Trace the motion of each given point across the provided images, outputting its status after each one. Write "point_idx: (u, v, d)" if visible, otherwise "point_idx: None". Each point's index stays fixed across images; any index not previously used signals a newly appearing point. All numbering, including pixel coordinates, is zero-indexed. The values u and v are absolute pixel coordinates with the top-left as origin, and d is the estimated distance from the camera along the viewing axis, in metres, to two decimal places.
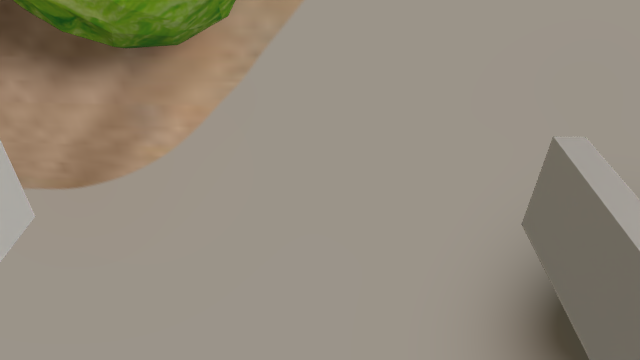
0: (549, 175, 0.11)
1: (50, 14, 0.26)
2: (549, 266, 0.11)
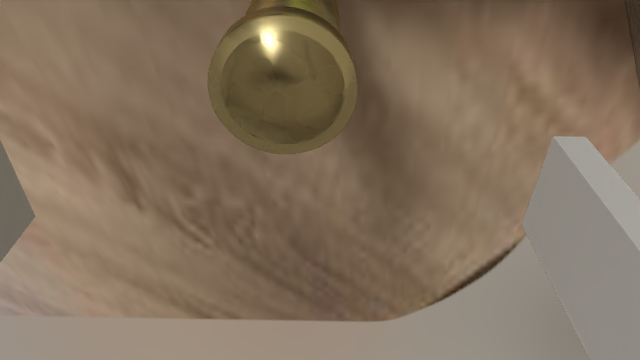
0: (549, 175, 0.11)
1: None
2: (549, 266, 0.11)
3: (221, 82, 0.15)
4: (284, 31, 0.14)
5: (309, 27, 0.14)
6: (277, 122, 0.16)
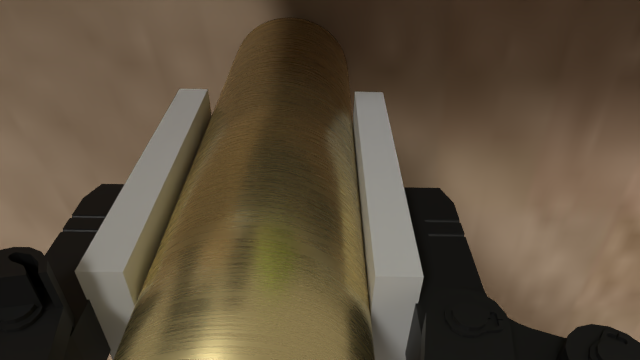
0: (354, 125, 0.13)
1: None
2: None
3: None
4: None
5: None
6: None
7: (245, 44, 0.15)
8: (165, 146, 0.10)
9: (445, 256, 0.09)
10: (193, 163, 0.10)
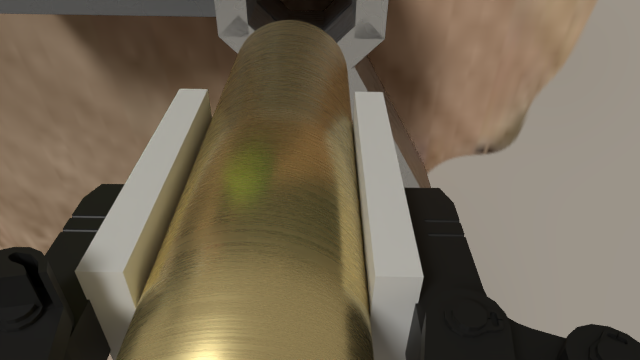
0: (353, 125, 0.13)
1: None
2: None
3: None
4: None
5: None
6: None
7: (245, 46, 0.15)
8: (165, 146, 0.10)
9: (445, 256, 0.09)
10: (194, 166, 0.10)
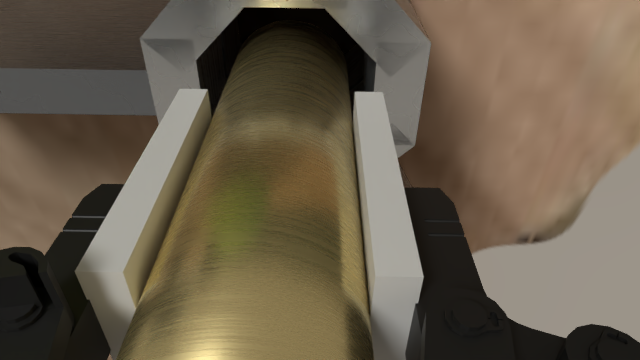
0: (353, 125, 0.13)
1: None
2: None
3: None
4: None
5: None
6: None
7: (245, 46, 0.15)
8: (165, 146, 0.10)
9: (445, 256, 0.09)
10: (194, 165, 0.10)
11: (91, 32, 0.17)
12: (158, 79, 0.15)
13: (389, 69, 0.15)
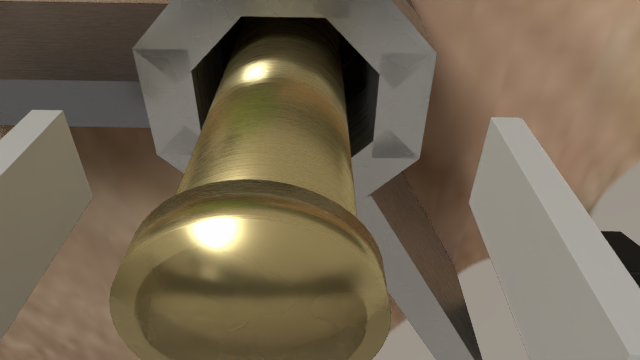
0: (488, 154, 0.12)
1: None
2: (488, 239, 0.12)
3: (136, 313, 0.08)
4: (250, 242, 0.07)
5: (299, 236, 0.07)
6: None
7: None
8: None
9: None
10: (227, 65, 0.15)
11: (83, 40, 0.17)
12: (152, 90, 0.14)
13: (394, 81, 0.14)
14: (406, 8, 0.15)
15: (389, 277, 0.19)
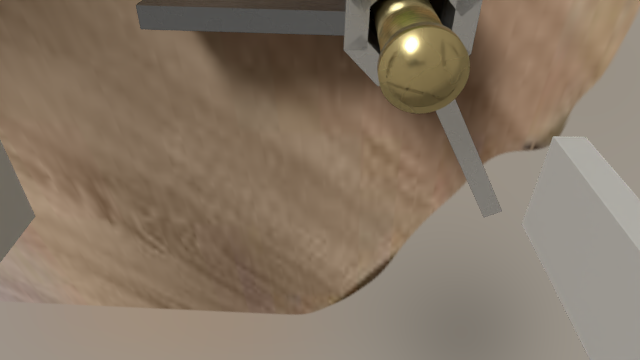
0: (549, 175, 0.11)
1: None
2: (549, 266, 0.11)
3: (388, 66, 0.25)
4: (431, 36, 0.24)
5: (446, 34, 0.24)
6: (416, 92, 0.26)
7: None
8: None
9: None
10: (381, 5, 0.31)
11: None
12: (350, 16, 0.31)
13: (461, 12, 0.31)
14: None
15: (449, 128, 0.36)
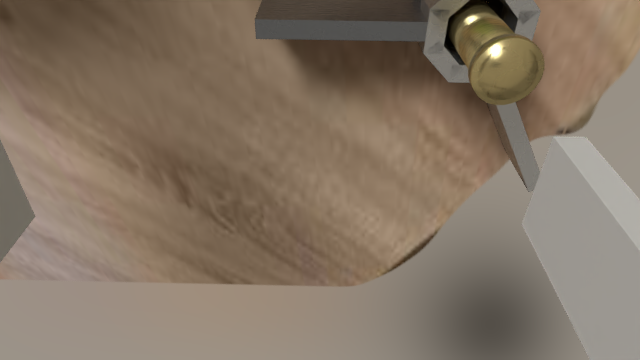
0: (549, 175, 0.11)
1: None
2: (549, 266, 0.11)
3: (480, 68, 0.32)
4: (516, 45, 0.31)
5: (528, 43, 0.31)
6: (500, 88, 0.33)
7: None
8: None
9: None
10: (456, 16, 0.38)
11: (385, 8, 0.41)
12: (431, 25, 0.38)
13: (523, 21, 0.38)
14: None
15: (505, 116, 0.43)
